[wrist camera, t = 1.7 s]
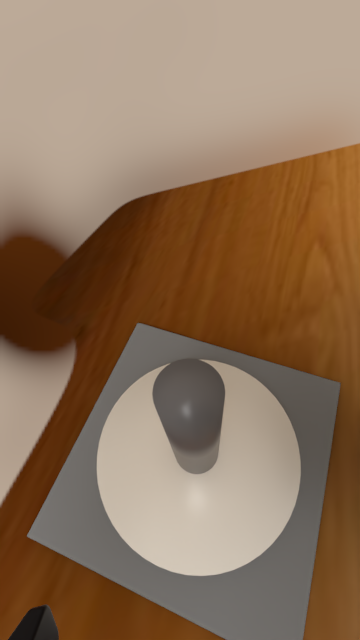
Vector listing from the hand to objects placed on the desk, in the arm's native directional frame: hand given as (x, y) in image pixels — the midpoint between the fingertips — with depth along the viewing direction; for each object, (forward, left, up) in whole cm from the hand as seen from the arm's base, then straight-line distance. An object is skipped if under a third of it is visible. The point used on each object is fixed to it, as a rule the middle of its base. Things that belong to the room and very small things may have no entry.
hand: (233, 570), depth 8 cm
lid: (+4, +3, -12) cm, 13 cm away
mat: (+4, +3, -12) cm, 13 cm away
